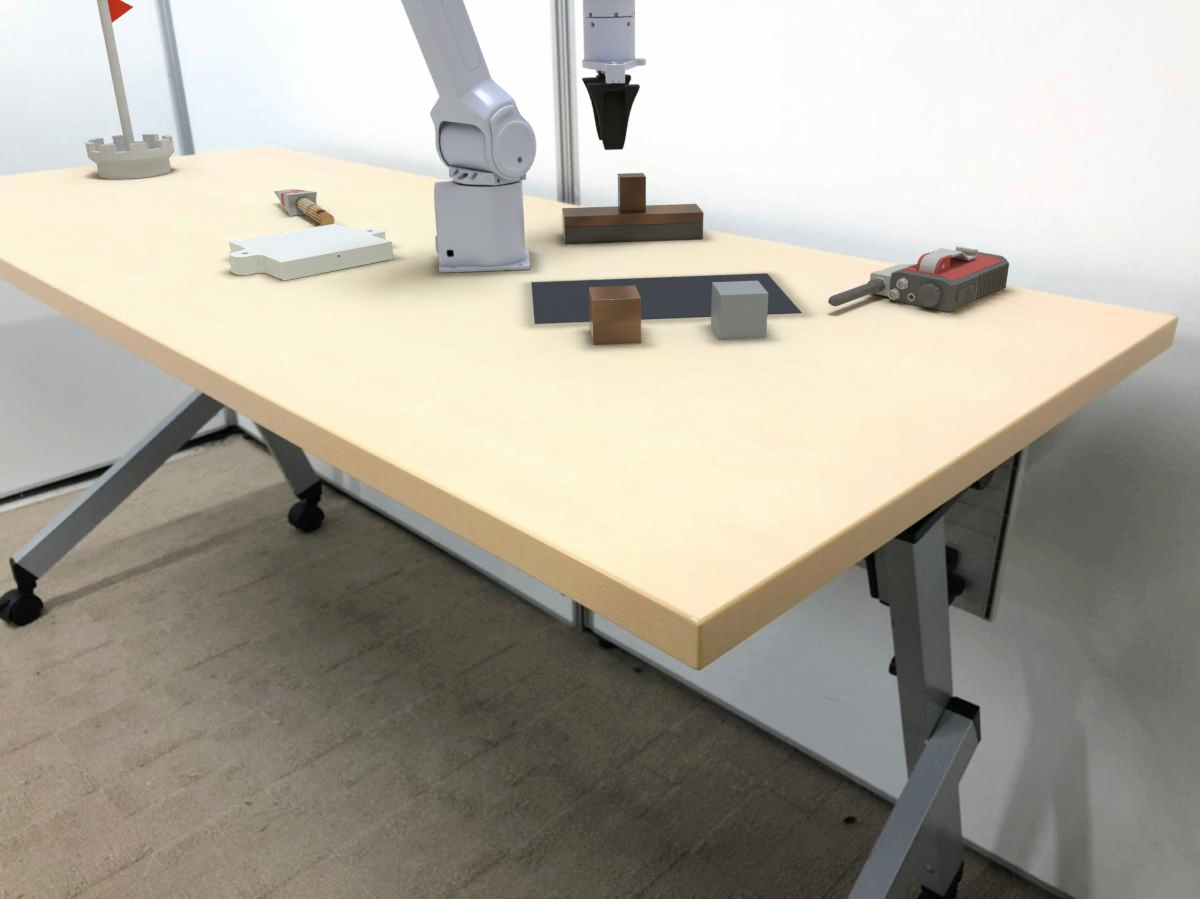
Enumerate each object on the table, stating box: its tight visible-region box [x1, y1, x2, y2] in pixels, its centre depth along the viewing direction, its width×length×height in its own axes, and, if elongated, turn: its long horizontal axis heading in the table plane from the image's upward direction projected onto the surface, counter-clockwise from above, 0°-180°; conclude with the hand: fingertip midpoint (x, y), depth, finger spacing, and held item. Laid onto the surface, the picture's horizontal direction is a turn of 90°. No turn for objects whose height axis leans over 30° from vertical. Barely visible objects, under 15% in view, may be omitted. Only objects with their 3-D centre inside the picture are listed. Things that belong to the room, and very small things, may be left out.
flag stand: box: [84, 0, 175, 180], centre depth 167 cm, size 13×13×30 cm
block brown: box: [589, 286, 642, 346], centre depth 89 cm, size 4×4×4 cm
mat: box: [530, 272, 803, 325], centre depth 101 cm, size 24×14×1 cm, turn 95°
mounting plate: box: [228, 223, 394, 282], centre depth 117 cm, size 18×13×2 cm
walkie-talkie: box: [827, 245, 1010, 313], centre depth 98 cm, size 9×4×20 cm
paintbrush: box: [273, 188, 335, 226], centre depth 140 cm, size 4×3×20 cm
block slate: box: [710, 281, 768, 341], centre depth 90 cm, size 4×4×4 cm
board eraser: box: [561, 172, 704, 245], centre depth 123 cm, size 16×5×7 cm, turn 95°
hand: (610, 144), depth 122 cm, fingers open, 7 cm apart
